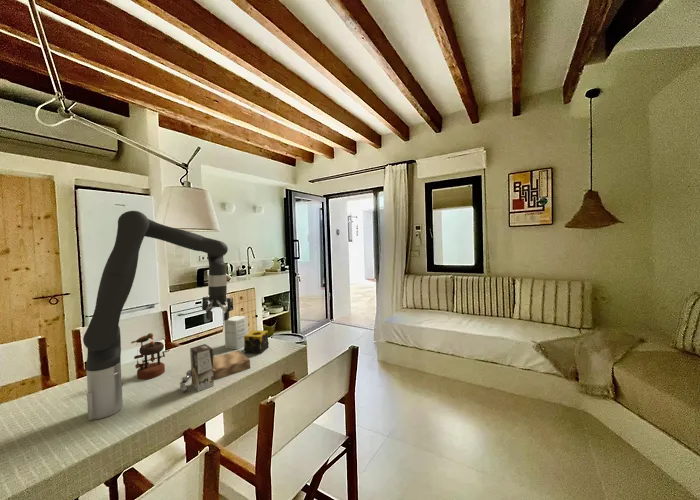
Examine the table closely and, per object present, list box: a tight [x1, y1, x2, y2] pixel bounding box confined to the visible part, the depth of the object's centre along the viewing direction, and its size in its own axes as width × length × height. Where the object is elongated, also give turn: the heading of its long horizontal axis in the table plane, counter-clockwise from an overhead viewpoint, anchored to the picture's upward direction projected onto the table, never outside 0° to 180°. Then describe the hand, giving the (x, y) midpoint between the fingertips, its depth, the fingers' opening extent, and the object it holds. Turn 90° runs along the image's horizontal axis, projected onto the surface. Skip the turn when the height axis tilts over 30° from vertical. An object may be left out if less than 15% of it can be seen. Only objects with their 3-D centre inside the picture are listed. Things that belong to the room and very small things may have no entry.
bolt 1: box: [182, 369, 192, 383], centre depth 121 cm, size 6×3×3 cm, turn 11°
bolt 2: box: [179, 382, 190, 394], centre depth 111 cm, size 6×3×3 cm, turn 41°
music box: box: [130, 332, 170, 381], centre depth 127 cm, size 15×11×20 cm
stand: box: [213, 349, 251, 380], centre depth 131 cm, size 16×16×4 cm
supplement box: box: [223, 315, 249, 350], centre depth 159 cm, size 10×9×17 cm
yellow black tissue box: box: [243, 329, 270, 355], centre depth 152 cm, size 10×10×10 cm
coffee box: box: [189, 343, 215, 392], centre depth 115 cm, size 9×6×16 cm
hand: (217, 319), depth 123 cm, fingers open, 8 cm apart
